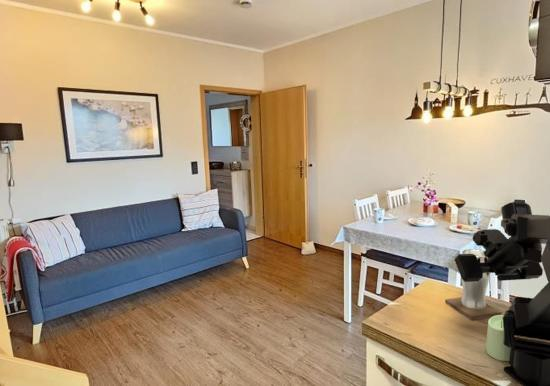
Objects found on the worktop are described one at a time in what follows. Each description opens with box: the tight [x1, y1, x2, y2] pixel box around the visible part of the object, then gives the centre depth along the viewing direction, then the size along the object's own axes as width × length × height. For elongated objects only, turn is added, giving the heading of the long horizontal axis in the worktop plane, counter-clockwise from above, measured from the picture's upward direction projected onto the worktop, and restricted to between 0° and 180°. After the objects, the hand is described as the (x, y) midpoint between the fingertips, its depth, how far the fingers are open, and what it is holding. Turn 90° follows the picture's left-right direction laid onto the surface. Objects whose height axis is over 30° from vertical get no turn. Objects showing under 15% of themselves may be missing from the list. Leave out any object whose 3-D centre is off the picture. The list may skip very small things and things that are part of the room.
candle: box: [485, 314, 516, 362], centre depth 74 cm, size 5×5×8 cm
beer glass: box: [460, 248, 491, 311], centre depth 93 cm, size 7×7×15 cm
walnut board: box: [444, 296, 503, 321], centre depth 94 cm, size 10×9×1 cm
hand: (481, 279), depth 89 cm, fingers open, 9 cm apart
